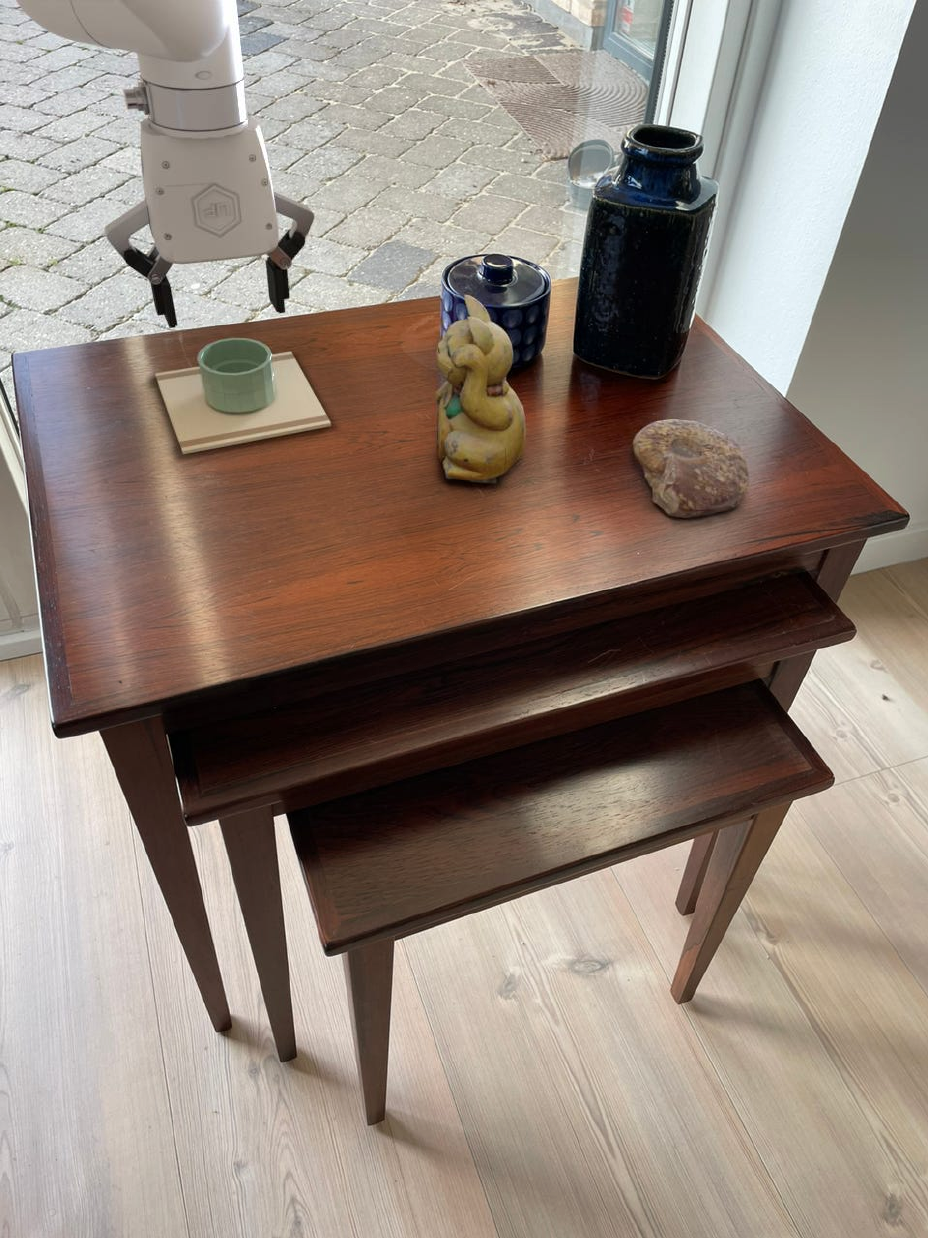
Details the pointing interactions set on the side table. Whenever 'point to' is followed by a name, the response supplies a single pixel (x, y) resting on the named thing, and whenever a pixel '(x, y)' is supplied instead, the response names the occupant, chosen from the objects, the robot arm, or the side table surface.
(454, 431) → the decorative figurine
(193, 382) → the cloth
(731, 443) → the fossil
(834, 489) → the side table surface
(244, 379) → the bowl
